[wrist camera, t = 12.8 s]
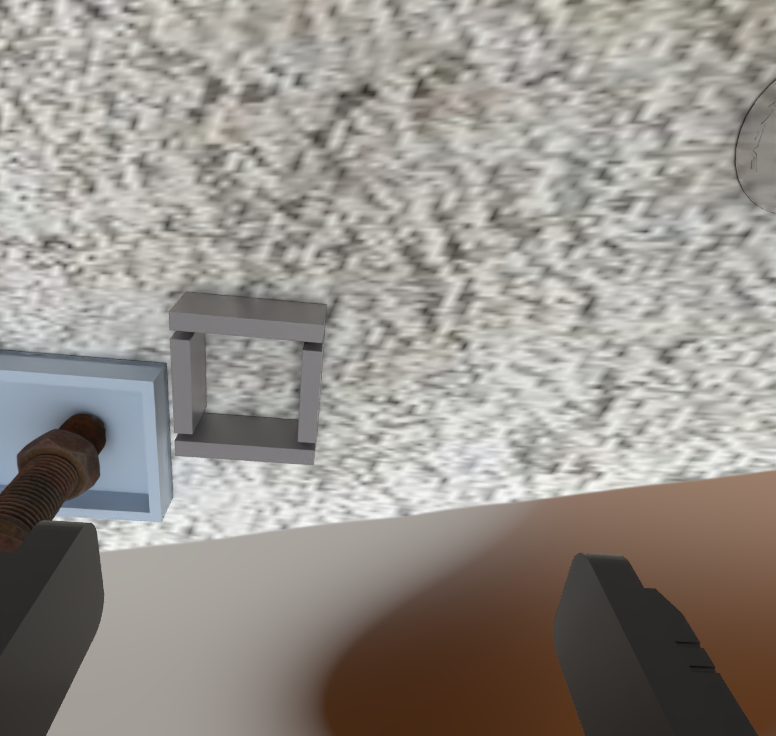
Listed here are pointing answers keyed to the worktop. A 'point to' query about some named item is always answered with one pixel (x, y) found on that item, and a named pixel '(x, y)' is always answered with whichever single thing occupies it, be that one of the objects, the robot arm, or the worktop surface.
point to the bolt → (50, 476)
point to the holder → (237, 432)
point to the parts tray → (102, 400)
